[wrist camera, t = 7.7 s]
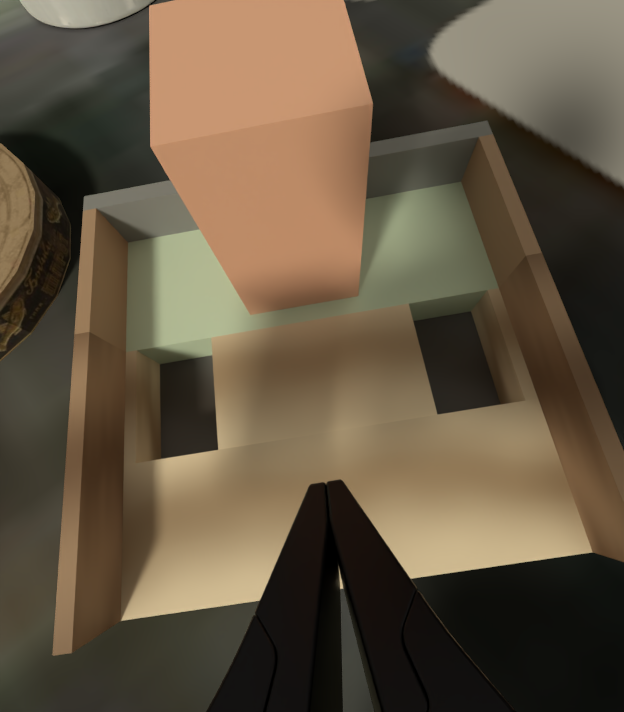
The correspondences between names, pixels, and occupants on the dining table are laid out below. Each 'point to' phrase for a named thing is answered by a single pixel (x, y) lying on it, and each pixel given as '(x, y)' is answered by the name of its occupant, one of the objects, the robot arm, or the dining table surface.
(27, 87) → the dining table surface
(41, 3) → the utensil holder
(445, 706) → the robot arm
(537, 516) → the board
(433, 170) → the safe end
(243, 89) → the terracotta block
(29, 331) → the wood slice
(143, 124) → the dining table surface
